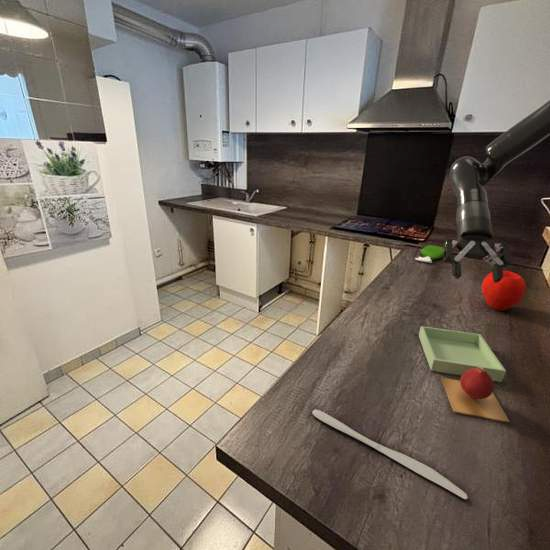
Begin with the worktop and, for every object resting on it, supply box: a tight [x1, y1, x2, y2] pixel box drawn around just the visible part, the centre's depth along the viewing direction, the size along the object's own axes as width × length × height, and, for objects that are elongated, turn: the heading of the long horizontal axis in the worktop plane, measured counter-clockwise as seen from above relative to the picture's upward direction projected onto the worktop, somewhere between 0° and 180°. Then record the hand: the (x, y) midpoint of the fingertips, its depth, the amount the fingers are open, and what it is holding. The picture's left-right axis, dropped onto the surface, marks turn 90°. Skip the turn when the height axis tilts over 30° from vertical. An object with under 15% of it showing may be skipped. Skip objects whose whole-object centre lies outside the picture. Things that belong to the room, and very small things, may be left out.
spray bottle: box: [414, 244, 444, 264], centre depth 149 cm, size 3×11×24 cm
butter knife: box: [312, 408, 468, 500], centre depth 52 cm, size 1×27×3 cm
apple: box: [481, 270, 527, 312], centre depth 98 cm, size 12×12×13 cm
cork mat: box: [440, 377, 510, 424], centre depth 63 cm, size 10×10×1 cm
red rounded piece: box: [459, 367, 495, 399], centre depth 62 cm, size 6×6×8 cm
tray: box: [418, 325, 507, 383], centre depth 76 cm, size 15×15×3 cm
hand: (477, 279), depth 71 cm, fingers open, 8 cm apart
